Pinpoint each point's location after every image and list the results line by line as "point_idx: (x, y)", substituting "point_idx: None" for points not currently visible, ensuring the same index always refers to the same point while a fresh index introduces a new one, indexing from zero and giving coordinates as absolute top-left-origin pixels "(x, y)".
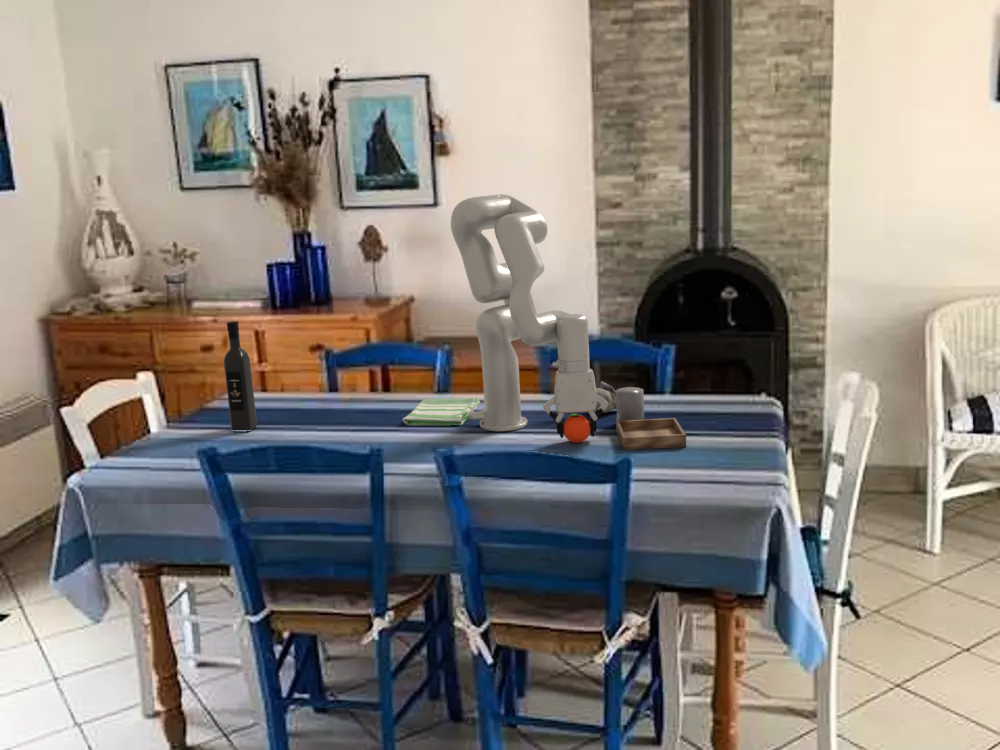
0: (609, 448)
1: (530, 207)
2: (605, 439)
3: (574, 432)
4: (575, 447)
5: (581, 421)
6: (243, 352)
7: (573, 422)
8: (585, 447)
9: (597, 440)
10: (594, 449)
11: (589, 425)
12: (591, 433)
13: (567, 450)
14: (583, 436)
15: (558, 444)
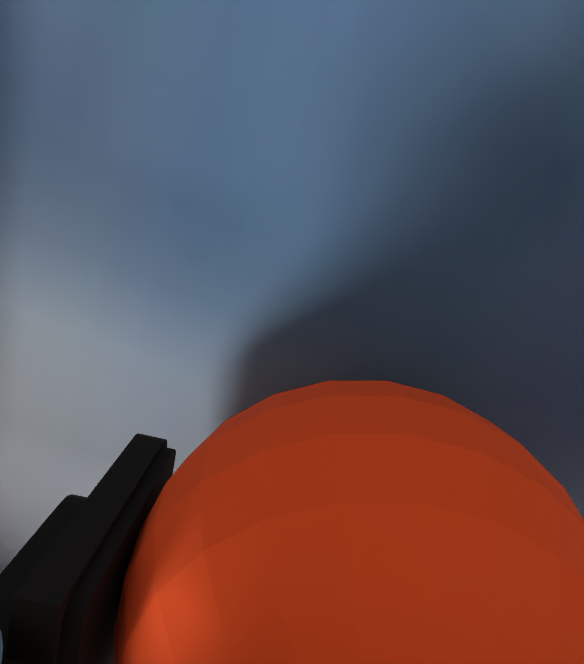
0: (41, 92)
1: None
2: (21, 457)
3: (478, 425)
4: (433, 303)
5: (325, 601)
6: None
7: (535, 623)
8: (318, 255)
9: (113, 457)
10: (236, 125)
11: (146, 545)
12: (161, 461)
13: (573, 220)
14: (310, 386)
15: (570, 486)
